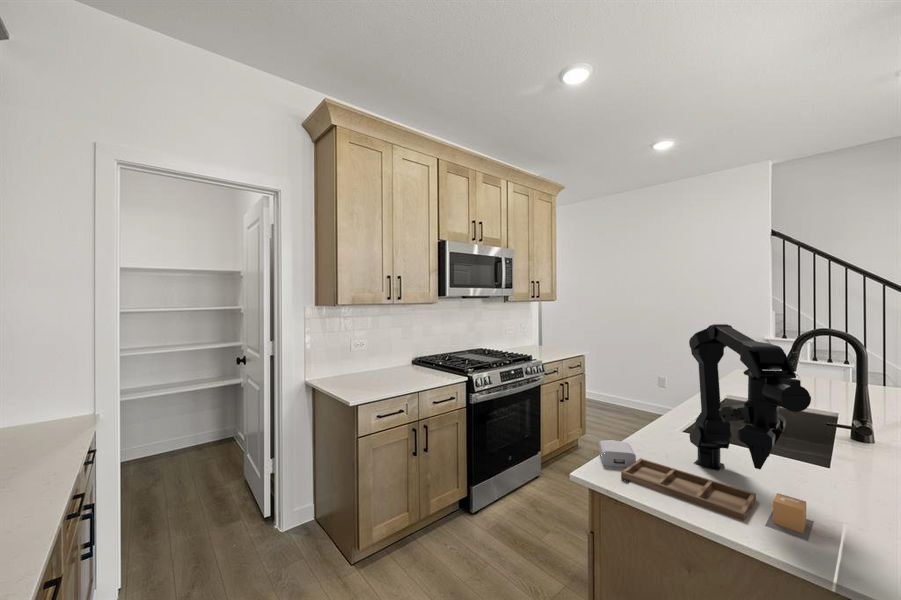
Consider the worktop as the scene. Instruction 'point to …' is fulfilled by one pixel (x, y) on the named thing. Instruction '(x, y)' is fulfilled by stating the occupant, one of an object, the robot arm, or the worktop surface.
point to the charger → (616, 453)
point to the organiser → (691, 488)
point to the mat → (803, 535)
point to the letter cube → (789, 512)
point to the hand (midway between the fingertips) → (761, 462)
